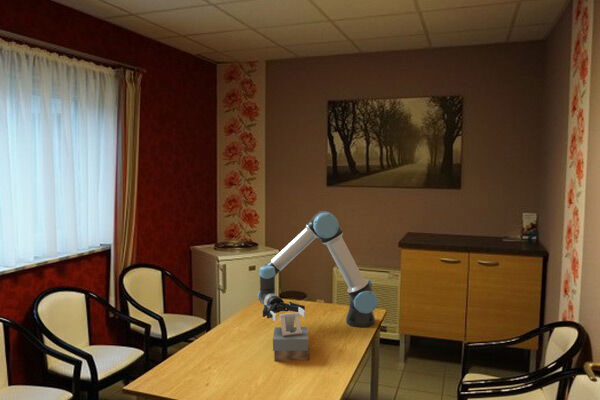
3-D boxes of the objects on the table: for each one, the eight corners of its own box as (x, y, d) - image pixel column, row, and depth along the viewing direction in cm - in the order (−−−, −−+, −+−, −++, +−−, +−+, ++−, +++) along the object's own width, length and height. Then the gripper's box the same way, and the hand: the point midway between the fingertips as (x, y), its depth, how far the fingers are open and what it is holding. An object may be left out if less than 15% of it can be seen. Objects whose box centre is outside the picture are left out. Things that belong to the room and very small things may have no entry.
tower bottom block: (307, 347, 224) (306, 337, 224) (309, 361, 209) (309, 349, 209) (274, 348, 224) (274, 338, 223) (274, 362, 209) (274, 350, 208)
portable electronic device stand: (283, 337, 210) (283, 318, 210) (278, 331, 218) (278, 312, 217) (302, 335, 213) (302, 316, 212) (297, 329, 220) (297, 310, 220)
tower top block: (307, 337, 223) (307, 327, 223) (308, 350, 208) (308, 339, 208) (274, 338, 223) (274, 327, 223) (273, 350, 208) (272, 339, 208)
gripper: (298, 307, 238) (316, 320, 218) (249, 314, 228) (263, 328, 209) (298, 292, 237) (316, 304, 218) (248, 298, 228) (263, 311, 208)
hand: (290, 316), depth 213 cm, fingers open, 13 cm apart
